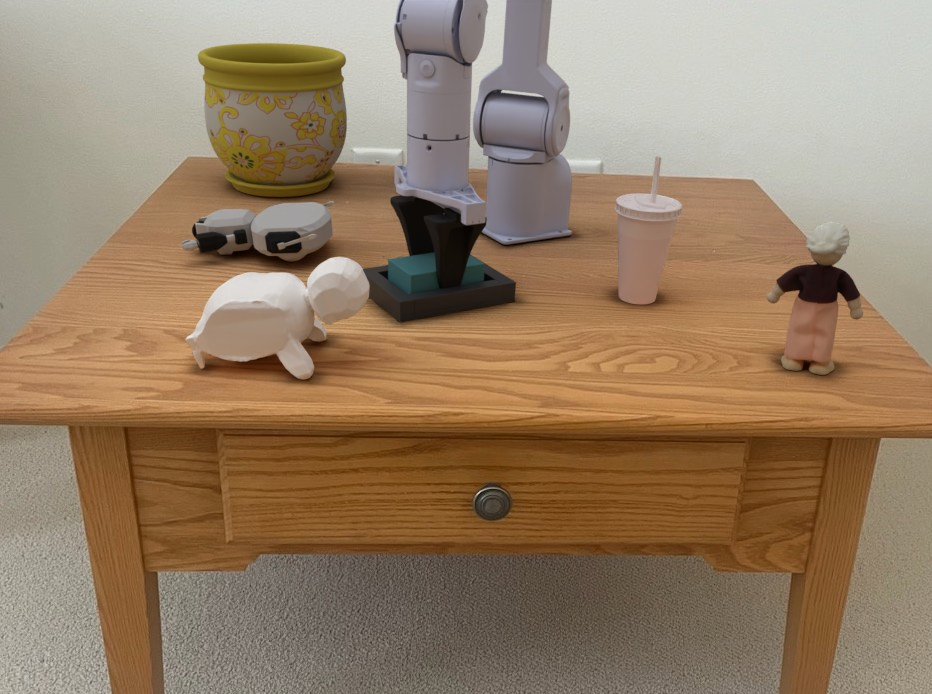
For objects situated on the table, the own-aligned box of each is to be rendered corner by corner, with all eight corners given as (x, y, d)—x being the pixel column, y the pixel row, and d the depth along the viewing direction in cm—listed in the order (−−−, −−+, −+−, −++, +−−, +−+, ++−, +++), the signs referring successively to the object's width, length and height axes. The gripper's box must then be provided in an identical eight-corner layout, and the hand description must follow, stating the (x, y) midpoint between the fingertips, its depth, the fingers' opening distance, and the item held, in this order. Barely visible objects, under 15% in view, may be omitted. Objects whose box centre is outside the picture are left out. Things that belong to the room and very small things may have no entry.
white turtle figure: (213, 409, 78) (383, 354, 75) (163, 318, 74) (340, 257, 71) (238, 365, 85) (394, 313, 83) (194, 279, 81) (355, 223, 79)
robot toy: (180, 275, 98) (325, 271, 98) (172, 233, 96) (320, 228, 96) (211, 238, 109) (342, 234, 108) (204, 199, 107) (338, 195, 106)
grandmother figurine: (842, 360, 84) (877, 219, 78) (849, 379, 81) (886, 233, 75) (753, 351, 85) (780, 211, 79) (756, 369, 82) (785, 225, 76)
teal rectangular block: (459, 276, 97) (459, 248, 96) (483, 292, 94) (484, 263, 92) (387, 288, 94) (387, 258, 92) (410, 305, 90) (410, 275, 89)
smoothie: (629, 313, 92) (647, 166, 85) (592, 291, 97) (606, 150, 90) (682, 304, 95) (704, 161, 88) (644, 282, 99) (661, 145, 93)
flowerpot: (339, 207, 119) (334, 67, 111) (194, 200, 119) (179, 60, 111) (357, 170, 135) (354, 46, 126) (230, 165, 134) (218, 40, 126)
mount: (467, 271, 100) (468, 252, 100) (515, 301, 93) (516, 282, 92) (358, 288, 95) (357, 269, 94) (399, 322, 88) (399, 302, 87)
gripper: (364, 121, 90) (367, 259, 97) (436, 155, 79) (434, 308, 86) (431, 116, 93) (429, 250, 100) (509, 148, 82) (501, 296, 89)
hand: (436, 277), depth 93 cm, fingers closed on teal rectangular block, 5 cm apart
